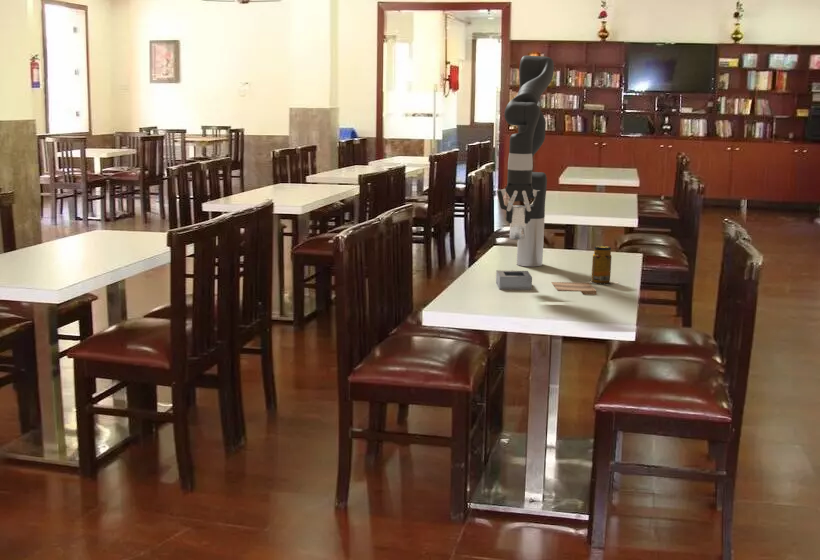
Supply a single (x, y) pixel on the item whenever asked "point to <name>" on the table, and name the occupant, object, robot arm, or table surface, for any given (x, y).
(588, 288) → the board
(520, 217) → the plug
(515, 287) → the housing
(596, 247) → the condiment
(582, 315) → the table surface
